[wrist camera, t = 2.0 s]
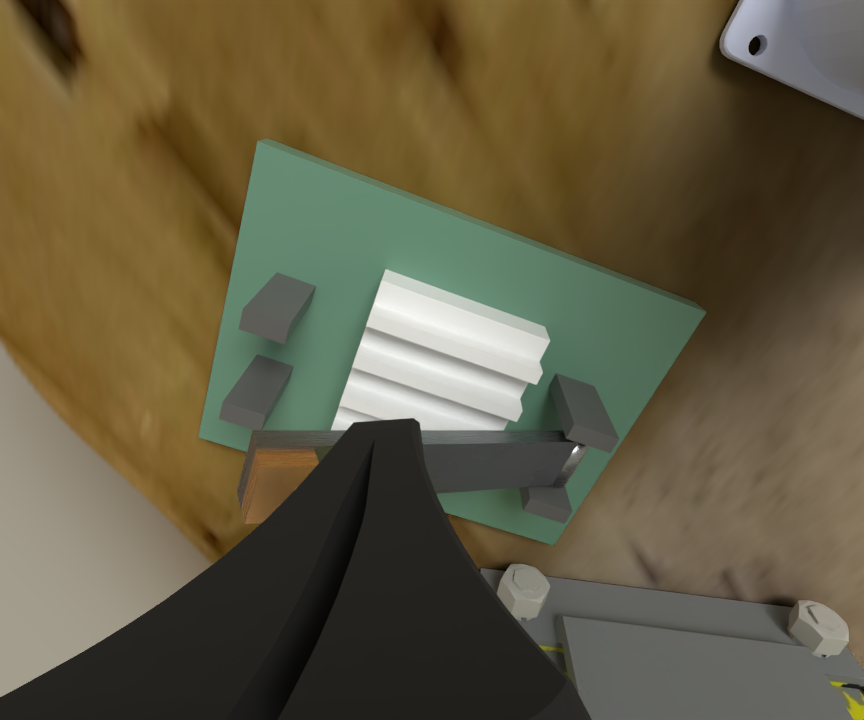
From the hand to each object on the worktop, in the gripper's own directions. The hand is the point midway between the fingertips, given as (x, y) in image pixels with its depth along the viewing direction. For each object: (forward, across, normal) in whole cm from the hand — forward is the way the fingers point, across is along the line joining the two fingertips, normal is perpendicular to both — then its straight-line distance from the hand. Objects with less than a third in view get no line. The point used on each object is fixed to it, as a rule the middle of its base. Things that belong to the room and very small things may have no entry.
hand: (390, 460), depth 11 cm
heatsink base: (+10, 0, +3) cm, 10 cm away
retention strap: (+5, -1, +3) cm, 6 cm away
